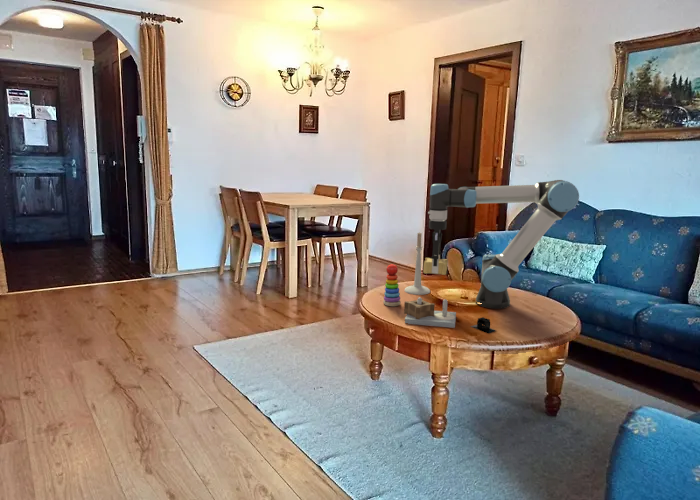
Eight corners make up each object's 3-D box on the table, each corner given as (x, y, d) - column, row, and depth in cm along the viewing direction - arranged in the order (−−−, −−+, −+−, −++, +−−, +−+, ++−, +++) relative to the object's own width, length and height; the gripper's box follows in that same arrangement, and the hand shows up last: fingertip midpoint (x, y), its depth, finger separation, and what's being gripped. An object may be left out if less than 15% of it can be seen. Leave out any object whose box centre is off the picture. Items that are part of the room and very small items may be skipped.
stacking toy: (400, 302, 233) (401, 262, 229) (400, 307, 225) (401, 266, 221) (383, 301, 233) (384, 262, 230) (383, 306, 226) (383, 266, 222)
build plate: (465, 327, 202) (466, 316, 202) (477, 323, 206) (478, 313, 206) (489, 336, 192) (490, 325, 191) (502, 332, 196) (502, 321, 196)
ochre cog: (447, 269, 225) (447, 259, 224) (445, 275, 216) (446, 263, 215) (425, 268, 227) (425, 257, 226) (422, 273, 218) (423, 262, 217)
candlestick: (410, 286, 259) (412, 229, 253) (433, 290, 253) (436, 231, 247) (400, 292, 249) (402, 232, 243) (424, 296, 242) (427, 235, 236)
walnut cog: (420, 309, 216) (421, 298, 215) (435, 315, 208) (436, 304, 207) (402, 313, 211) (402, 301, 210) (417, 319, 203) (417, 308, 202)
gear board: (455, 316, 213) (457, 295, 211) (454, 327, 200) (455, 305, 198) (408, 312, 217) (409, 291, 216) (404, 323, 204) (405, 301, 202)
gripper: (431, 216, 227) (429, 265, 232) (427, 222, 208) (424, 276, 212) (447, 217, 226) (445, 266, 230) (445, 223, 206) (442, 277, 211)
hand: (435, 270), depth 221 cm, fingers closed on ochre cog, 8 cm apart
